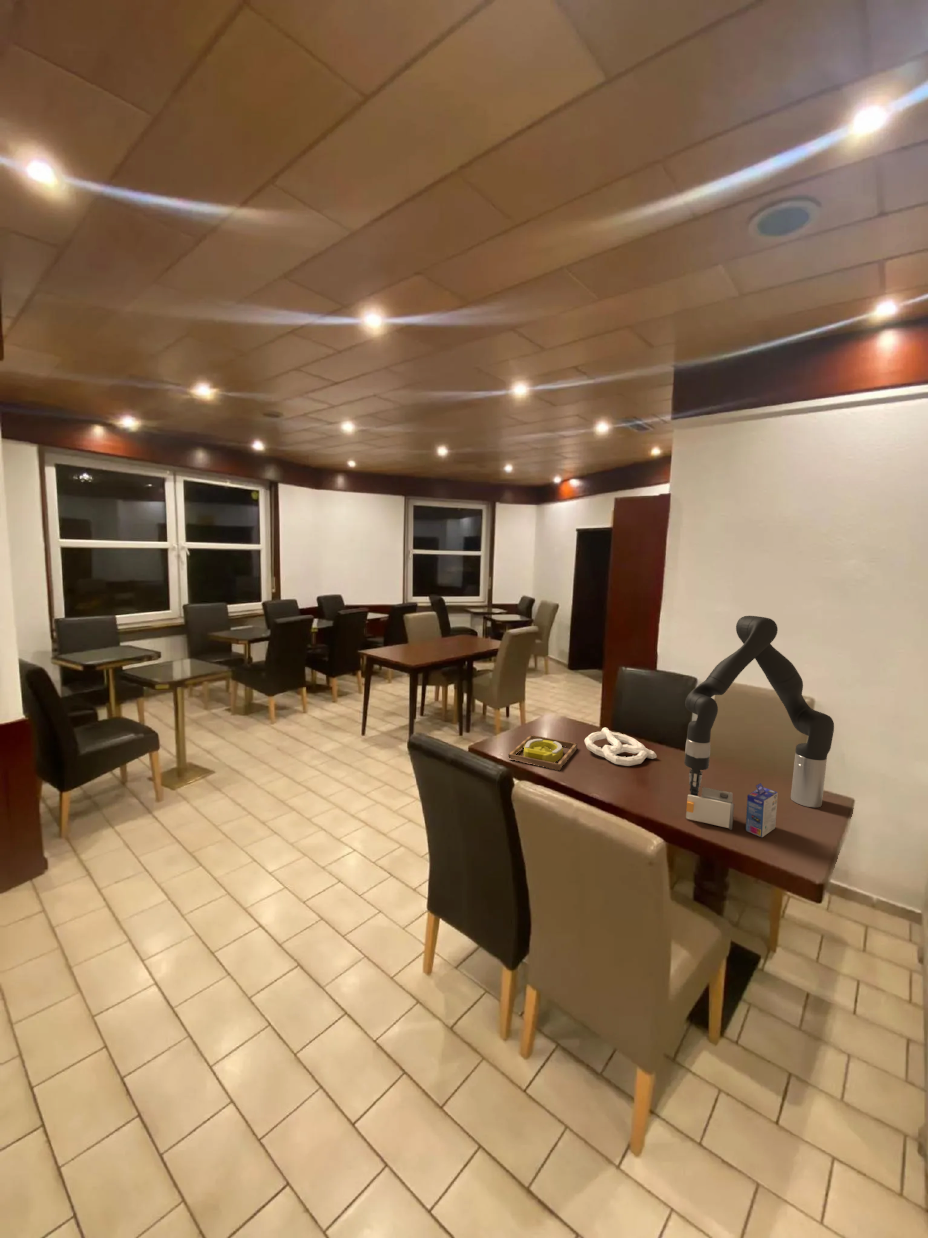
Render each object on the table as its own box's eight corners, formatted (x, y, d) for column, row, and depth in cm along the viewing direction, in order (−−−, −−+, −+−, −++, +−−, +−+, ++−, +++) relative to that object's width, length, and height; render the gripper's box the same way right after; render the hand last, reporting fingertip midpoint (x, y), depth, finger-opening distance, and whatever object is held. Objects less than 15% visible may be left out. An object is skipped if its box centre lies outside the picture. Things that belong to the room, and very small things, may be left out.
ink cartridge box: (757, 821, 167) (761, 779, 165) (775, 828, 163) (780, 785, 161) (743, 830, 161) (747, 787, 160) (762, 838, 157) (766, 793, 155)
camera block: (700, 812, 173) (702, 784, 171) (730, 818, 168) (732, 790, 167) (699, 821, 166) (701, 793, 165) (730, 828, 162) (732, 799, 161)
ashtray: (516, 761, 213) (516, 750, 213) (531, 745, 232) (531, 734, 231) (554, 769, 206) (554, 757, 206) (566, 751, 225) (567, 740, 224)
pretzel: (660, 760, 220) (662, 747, 218) (627, 776, 205) (630, 762, 204) (606, 734, 241) (608, 721, 239) (574, 747, 226) (575, 733, 225)
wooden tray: (530, 739, 238) (530, 734, 237) (577, 748, 228) (577, 743, 227) (508, 760, 214) (508, 754, 213) (559, 770, 204) (559, 764, 203)
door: (686, 817, 168) (687, 793, 167) (732, 828, 162) (734, 803, 161) (685, 820, 166) (687, 796, 165) (732, 831, 160) (734, 806, 159)
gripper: (686, 744, 178) (683, 791, 180) (683, 757, 166) (680, 807, 168) (710, 748, 174) (706, 796, 177) (709, 761, 163) (705, 813, 165)
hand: (693, 801), depth 172 cm, fingers closed
